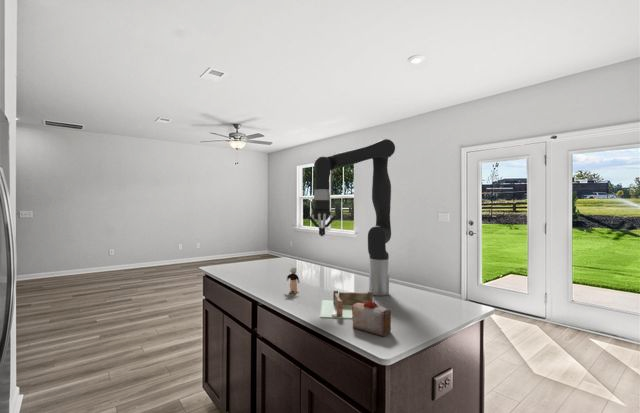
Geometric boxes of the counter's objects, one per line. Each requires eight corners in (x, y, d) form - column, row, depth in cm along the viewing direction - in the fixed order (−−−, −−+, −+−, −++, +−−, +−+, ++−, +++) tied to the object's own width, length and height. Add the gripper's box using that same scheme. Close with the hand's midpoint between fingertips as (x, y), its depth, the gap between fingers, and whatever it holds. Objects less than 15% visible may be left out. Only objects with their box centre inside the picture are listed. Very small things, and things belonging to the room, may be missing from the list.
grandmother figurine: (301, 292, 157) (302, 266, 157) (298, 294, 153) (299, 267, 153) (287, 290, 160) (287, 265, 159) (284, 292, 156) (284, 266, 156)
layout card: (373, 302, 142) (373, 301, 142) (380, 319, 120) (380, 318, 120) (322, 301, 143) (322, 300, 143) (319, 318, 122) (319, 316, 122)
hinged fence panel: (332, 303, 137) (333, 290, 137) (337, 303, 137) (338, 290, 137) (337, 316, 122) (337, 301, 122) (342, 315, 122) (343, 301, 122)
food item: (348, 328, 112) (348, 300, 112) (360, 321, 118) (360, 295, 118) (382, 338, 104) (383, 308, 104) (393, 331, 110) (394, 303, 110)
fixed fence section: (372, 305, 137) (372, 291, 137) (372, 306, 135) (372, 292, 134) (338, 304, 137) (339, 290, 137) (338, 305, 135) (339, 291, 135)
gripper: (335, 199, 154) (335, 235, 154) (308, 199, 154) (308, 235, 154) (336, 199, 147) (336, 236, 147) (307, 199, 147) (307, 236, 147)
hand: (321, 235), depth 151 cm, fingers closed
